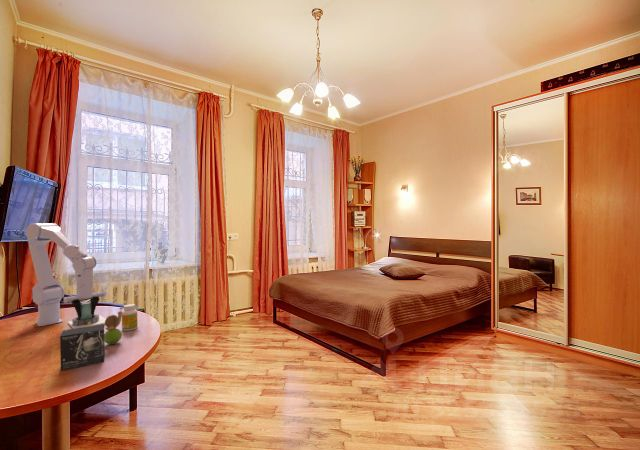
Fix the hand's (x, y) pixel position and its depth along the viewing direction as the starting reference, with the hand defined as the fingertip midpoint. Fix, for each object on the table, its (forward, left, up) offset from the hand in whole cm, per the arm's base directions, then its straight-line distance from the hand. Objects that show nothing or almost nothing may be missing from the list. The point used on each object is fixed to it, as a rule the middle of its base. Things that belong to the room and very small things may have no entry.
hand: (85, 315), depth 134 cm
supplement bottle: (+23, +10, -4) cm, 25 cm away
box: (+47, -10, -4) cm, 48 cm away
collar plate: (0, +1, -3) cm, 4 cm away
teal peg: (0, 0, -3) cm, 3 cm away
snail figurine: (+36, +1, -4) cm, 36 cm away
